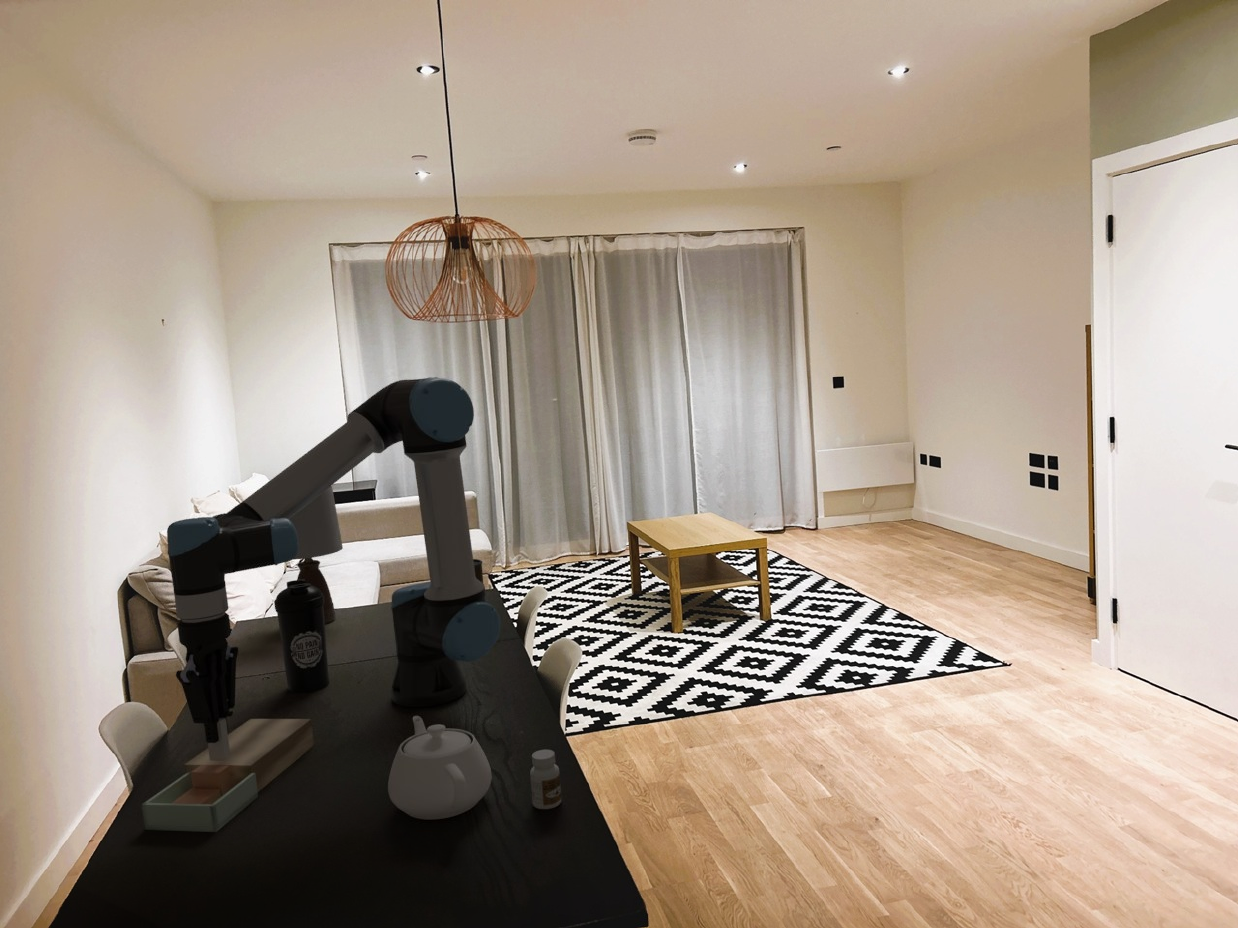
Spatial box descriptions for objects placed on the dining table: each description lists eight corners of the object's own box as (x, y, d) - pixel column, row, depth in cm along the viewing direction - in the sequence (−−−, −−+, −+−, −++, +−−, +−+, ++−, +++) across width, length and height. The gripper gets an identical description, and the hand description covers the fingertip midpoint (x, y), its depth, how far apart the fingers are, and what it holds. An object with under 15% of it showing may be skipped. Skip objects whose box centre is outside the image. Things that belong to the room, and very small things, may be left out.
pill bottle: (550, 812, 135) (546, 762, 134) (526, 806, 137) (522, 757, 136) (567, 799, 138) (563, 750, 137) (544, 794, 141) (540, 745, 140)
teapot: (516, 821, 133) (510, 740, 132) (410, 851, 126) (403, 766, 125) (464, 760, 155) (459, 690, 154) (372, 783, 148) (366, 710, 147)
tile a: (229, 765, 145) (219, 772, 143) (232, 795, 146) (223, 802, 143) (200, 765, 146) (190, 772, 144) (204, 794, 147) (194, 802, 144)
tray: (258, 796, 147) (255, 772, 146) (216, 831, 136) (213, 806, 135) (191, 795, 149) (188, 771, 148) (145, 829, 138) (141, 804, 138)
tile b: (199, 804, 138) (201, 820, 138) (220, 788, 143) (221, 804, 143) (170, 803, 139) (172, 819, 139) (191, 788, 144) (193, 803, 144)
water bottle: (287, 697, 192) (275, 591, 190) (281, 684, 201) (269, 582, 199) (337, 687, 197) (325, 582, 194) (328, 674, 206) (317, 574, 203)
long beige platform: (313, 745, 166) (311, 718, 165) (254, 794, 147) (250, 765, 147) (254, 744, 168) (250, 718, 167) (187, 793, 149) (184, 764, 149)
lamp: (363, 613, 257) (350, 484, 253) (317, 633, 240) (302, 494, 236) (312, 610, 265) (299, 484, 261) (264, 629, 248) (248, 495, 244)
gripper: (207, 605, 152) (223, 741, 154) (154, 628, 139) (172, 776, 141) (248, 604, 150) (264, 741, 153) (198, 627, 138) (216, 777, 140)
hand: (220, 758), depth 147 cm, fingers closed
